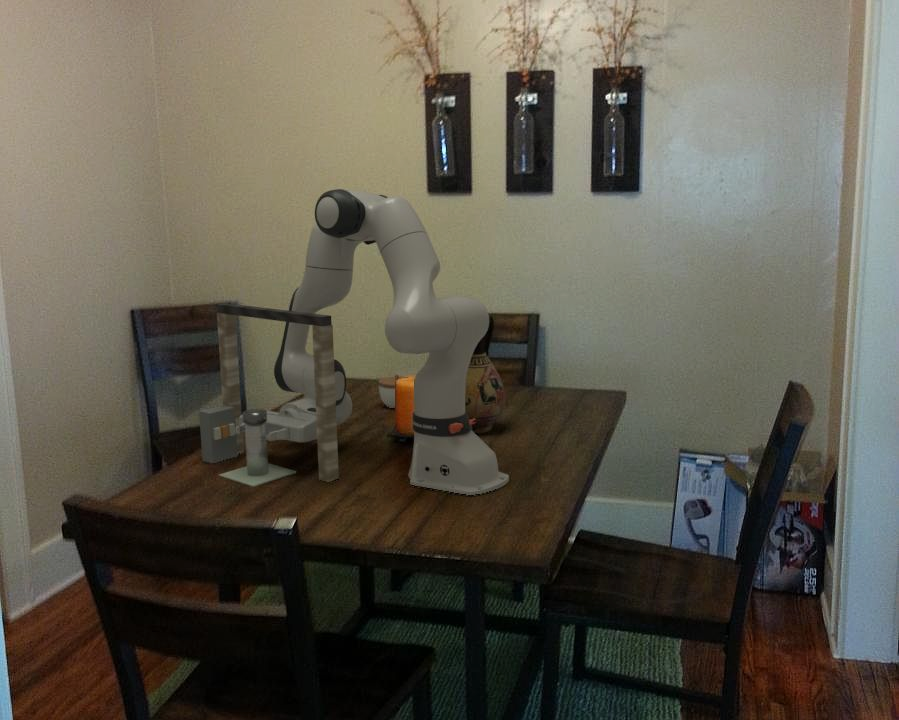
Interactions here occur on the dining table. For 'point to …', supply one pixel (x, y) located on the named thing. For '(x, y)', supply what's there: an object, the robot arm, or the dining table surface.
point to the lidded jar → (388, 390)
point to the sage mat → (244, 478)
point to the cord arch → (321, 372)
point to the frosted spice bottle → (256, 441)
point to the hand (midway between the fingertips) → (252, 434)
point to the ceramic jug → (483, 387)
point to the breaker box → (218, 433)
